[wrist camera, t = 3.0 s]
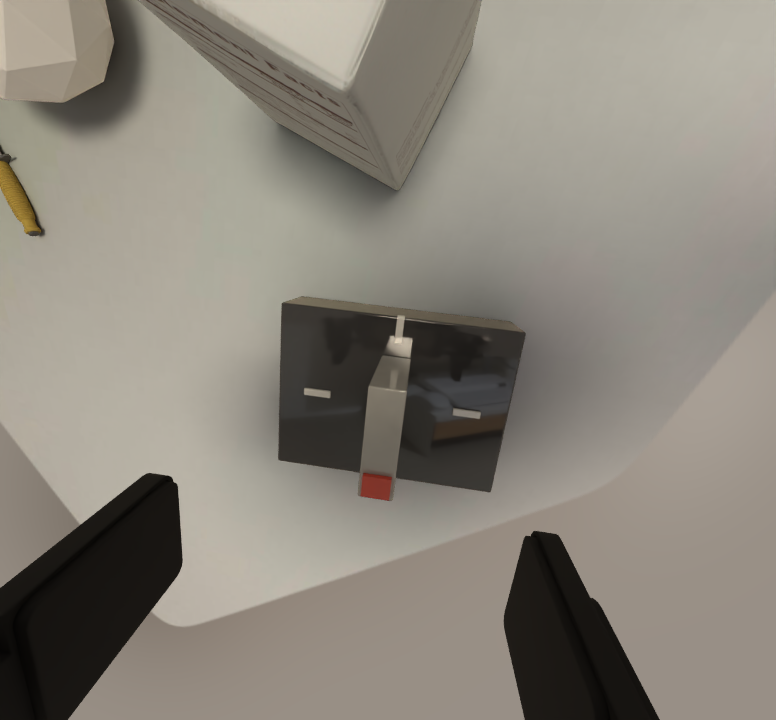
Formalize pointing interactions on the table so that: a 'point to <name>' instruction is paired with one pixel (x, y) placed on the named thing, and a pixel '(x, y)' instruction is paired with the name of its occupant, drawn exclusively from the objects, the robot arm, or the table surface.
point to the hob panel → (424, 393)
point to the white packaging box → (337, 67)
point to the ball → (53, 48)
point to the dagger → (16, 197)
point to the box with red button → (383, 428)
